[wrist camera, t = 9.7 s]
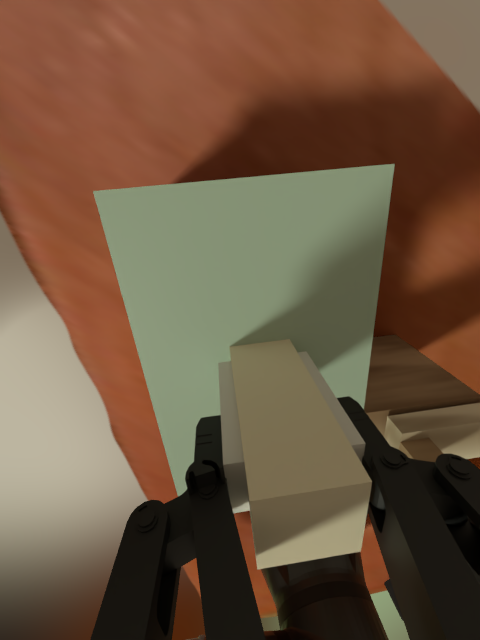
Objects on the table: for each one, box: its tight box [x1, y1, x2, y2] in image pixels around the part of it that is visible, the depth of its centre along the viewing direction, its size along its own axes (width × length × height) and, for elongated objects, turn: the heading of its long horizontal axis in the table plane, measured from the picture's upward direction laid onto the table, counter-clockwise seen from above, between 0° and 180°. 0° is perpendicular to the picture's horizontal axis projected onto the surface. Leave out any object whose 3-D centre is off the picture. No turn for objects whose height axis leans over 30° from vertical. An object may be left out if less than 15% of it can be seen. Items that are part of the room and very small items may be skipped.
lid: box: [93, 164, 395, 570], centre depth 14 cm, size 21×14×11 cm, turn 5°
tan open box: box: [364, 335, 480, 437], centre depth 22 cm, size 20×22×10 cm
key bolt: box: [384, 403, 480, 462], centre depth 18 cm, size 4×8×6 cm, turn 95°
